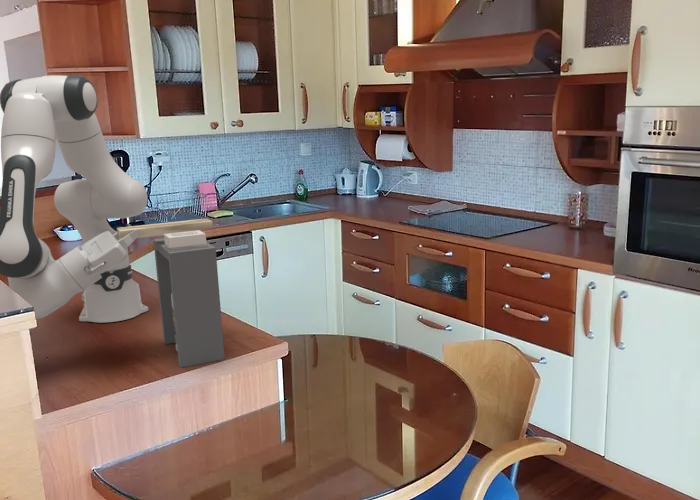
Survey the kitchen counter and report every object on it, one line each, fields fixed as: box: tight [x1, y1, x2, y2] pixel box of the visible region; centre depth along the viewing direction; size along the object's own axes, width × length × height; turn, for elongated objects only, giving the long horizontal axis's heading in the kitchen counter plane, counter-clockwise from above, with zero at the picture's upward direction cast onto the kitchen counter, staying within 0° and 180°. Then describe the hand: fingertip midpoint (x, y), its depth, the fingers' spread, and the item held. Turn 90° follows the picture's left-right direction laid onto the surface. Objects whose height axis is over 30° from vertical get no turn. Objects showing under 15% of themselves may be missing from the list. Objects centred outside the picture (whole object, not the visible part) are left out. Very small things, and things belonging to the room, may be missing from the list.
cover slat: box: [116, 218, 214, 239], centre depth 155 cm, size 5×21×2 cm, turn 116°
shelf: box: [153, 237, 226, 368], centre depth 156 cm, size 20×10×26 cm, turn 26°
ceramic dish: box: [163, 230, 207, 252], centre depth 149 cm, size 6×8×3 cm
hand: (135, 230), depth 152 cm, fingers closed on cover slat, 5 cm apart
